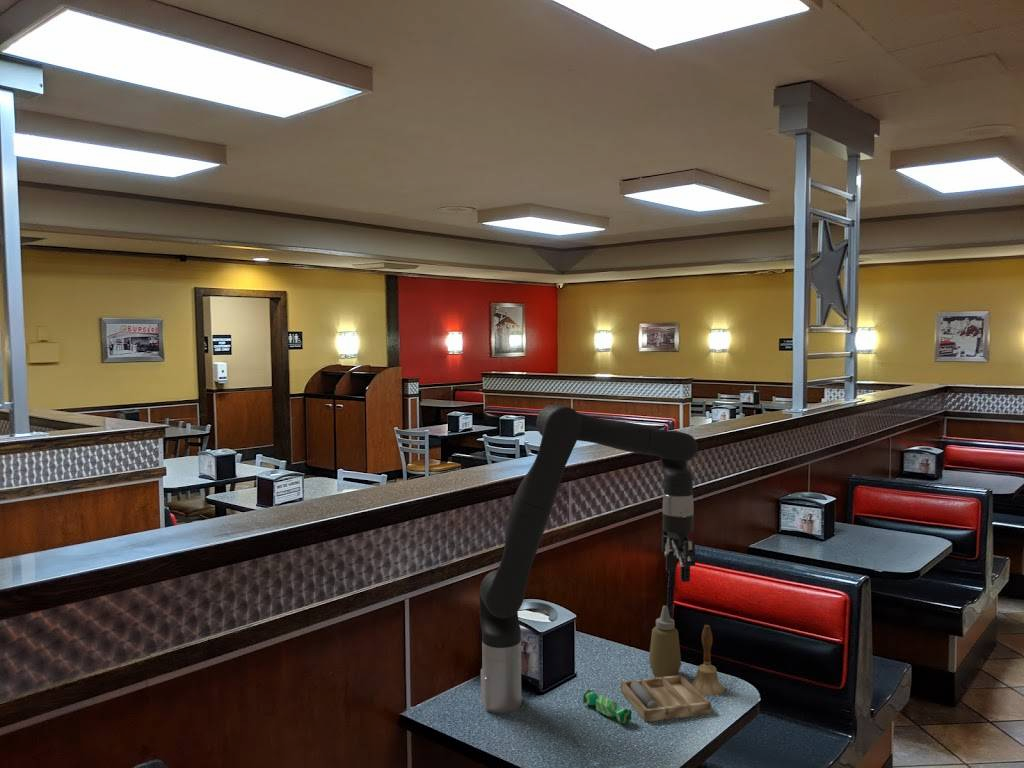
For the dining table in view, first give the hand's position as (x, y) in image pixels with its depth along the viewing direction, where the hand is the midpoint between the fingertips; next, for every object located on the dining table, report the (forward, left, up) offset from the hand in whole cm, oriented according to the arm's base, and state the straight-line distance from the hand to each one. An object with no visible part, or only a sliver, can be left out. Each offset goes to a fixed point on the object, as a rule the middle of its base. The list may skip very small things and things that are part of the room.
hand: (677, 576), depth 186 cm
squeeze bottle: (-2, +3, -27) cm, 27 cm away
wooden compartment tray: (-8, -10, -26) cm, 29 cm away
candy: (-23, -12, -27) cm, 38 cm away
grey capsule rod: (-13, -10, -26) cm, 30 cm away
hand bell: (+5, -6, -27) cm, 28 cm away
